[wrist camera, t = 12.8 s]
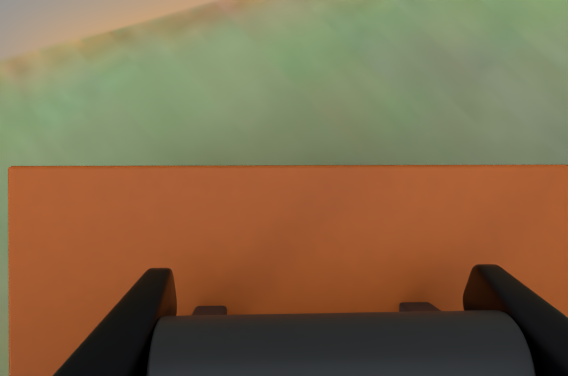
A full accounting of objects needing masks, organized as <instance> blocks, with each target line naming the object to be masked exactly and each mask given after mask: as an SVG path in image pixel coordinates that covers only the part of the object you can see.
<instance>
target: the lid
mask: <svg viewBox="0 0 568 376" xmlns="http://www.w3.org/2000/svg"><path fill="white" fill-rule="evenodd" d="M8 214H9V376H53V375H54V373H55V372H56V371H57V370H58V369H59V368H60V367H61V366H62V365H63V363H64V362H65V361H66V360H67V359H68V358H69V357H70V356H71V354H72V353H73V352H74V351H75V350H76V349H77V348H78V347H79V345H80V344H81V343H82V342H83V341H84V340H85V339H86V338H87V337H88V335H89V334H90V333H91V332H92V331H93V330H94V329H95V328H96V326H97V325H98V324H99V323H100V322H101V321H102V320H103V319H104V318H105V316H106V315H107V314H108V313H109V312H110V311H111V310H112V309H113V307H114V306H115V305H116V304H117V303H118V302H119V301H120V300H121V299H122V297H123V296H124V295H125V294H126V293H127V292H128V291H129V290H130V288H131V287H132V286H133V285H134V284H135V283H136V282H137V281H138V279H139V278H140V277H141V276H142V275H143V274H144V273H145V272H146V271H147V270H148V269H150V268H170V269H171V270H172V272H173V276H174V283H175V290H176V297H177V314H176V316H163V317H161V318H159V320H158V322H157V324H156V326H155V329H154V332H153V335H152V340H151V344H150V350H149V356H148V364H147V374H146V376H536V374H535V368H534V363H533V359H532V356H531V352H530V349H529V346H528V344H527V341H526V339H525V337H524V335H523V333H522V331H521V329H520V328H519V326H518V325H517V323H516V322H515V321H514V320H513V319H512V318H511V317H510V316H509V315H508V314H506V313H504V312H502V311H499V310H471V311H464V308H463V293H464V290H465V287H466V284H467V281H468V278H469V275H470V272H471V270H472V268H473V267H474V266H475V265H477V264H496V265H498V266H500V267H502V268H503V269H504V270H506V271H507V272H508V273H510V274H511V275H512V276H514V277H515V278H516V279H518V280H519V281H520V282H522V283H523V284H524V285H525V286H527V287H528V288H529V289H531V290H532V291H533V292H535V293H536V294H537V295H539V296H540V297H541V298H543V299H544V300H545V301H547V302H548V303H549V304H551V305H552V306H553V307H555V308H556V309H557V310H559V311H560V312H561V313H563V314H564V315H565V316H567V317H568V165H264V166H11V167H9V169H8Z"/></svg>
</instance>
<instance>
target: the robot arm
mask: <svg viewBox="0 0 568 376" xmlns="http://www.w3.org/2000/svg"><path fill="white" fill-rule="evenodd" d="M463 308H464V311H471V310H499V311H502V312H504V313H506V314H508V315H509V316H510V317H511V318H512V319H513V320H514V321H515V322H516V323H517V325H518V326H519V328H520V329H521V331H522V333H523V335H524V337H525V339H526V341H527V344H528V346H529V349H530V352H531V356H532V359H533V363H534V368H535V374H536V376H568V317H567V316H565V315H564V314H563V313H561V312H560V311H559V310H557V309H556V308H555V307H553V306H552V305H551V304H549V303H548V302H547V301H545V300H544V299H543V298H541V297H540V296H539V295H537V294H536V293H535V292H533V291H532V290H531V289H529V288H528V287H527V286H525V285H524V284H523V283H522V282H520V281H519V280H518V279H516V278H515V277H514V276H512V275H511V274H510V273H508V272H507V271H506V270H504V269H503V268H502V267H500V266H498V265H496V264H477V265H475V266H474V267H473V268H472V270H471V272H470V275H469V278H468V281H467V284H466V287H465V290H464V293H463ZM176 314H177V297H176V290H175V283H174V276H173V272H172V270H171V269H170V268H150V269H148V270H147V271H146V272H145V273H144V274H143V275H142V276H141V277H140V278H139V279H138V281H137V282H136V283H135V284H134V285H133V286H132V287H131V288H130V290H129V291H128V292H127V293H126V294H125V295H124V296H123V297H122V299H121V300H120V301H119V302H118V303H117V304H116V305H115V306H114V307H113V309H112V310H111V311H110V312H109V313H108V314H107V315H106V316H105V318H104V319H103V320H102V321H101V322H100V323H99V324H98V325H97V326H96V328H95V329H94V330H93V331H92V332H91V333H90V334H89V335H88V337H87V338H86V339H85V340H84V341H83V342H82V343H81V344H80V345H79V347H78V348H77V349H76V350H75V351H74V352H73V353H72V354H71V356H70V357H69V358H68V359H67V360H66V361H65V362H64V363H63V365H62V366H61V367H60V368H59V369H58V370H57V371H56V372H55V373H54V375H53V376H146V374H147V364H148V356H149V350H150V344H151V340H152V335H153V332H154V329H155V326H156V324H157V322H158V320H159V318H161V317H163V316H176Z"/></svg>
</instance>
